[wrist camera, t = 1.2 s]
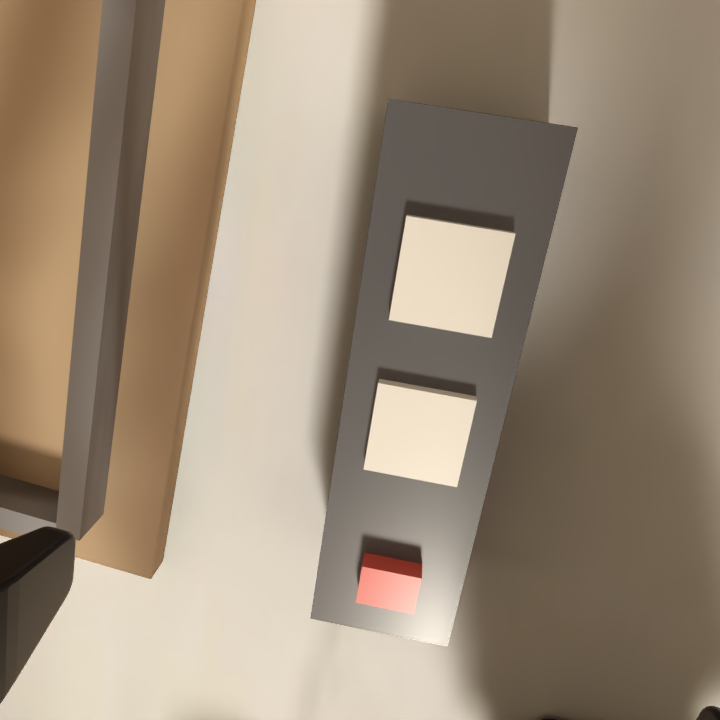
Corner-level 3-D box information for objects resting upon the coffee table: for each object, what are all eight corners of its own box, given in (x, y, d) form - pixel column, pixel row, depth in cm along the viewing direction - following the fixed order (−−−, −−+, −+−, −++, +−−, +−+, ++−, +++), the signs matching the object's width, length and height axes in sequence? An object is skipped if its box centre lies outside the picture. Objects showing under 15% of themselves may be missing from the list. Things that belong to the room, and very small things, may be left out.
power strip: (546, 131, 17) (584, 126, 12) (446, 558, 21) (448, 663, 17) (399, 109, 17) (385, 96, 13) (332, 536, 22) (306, 633, 17)
